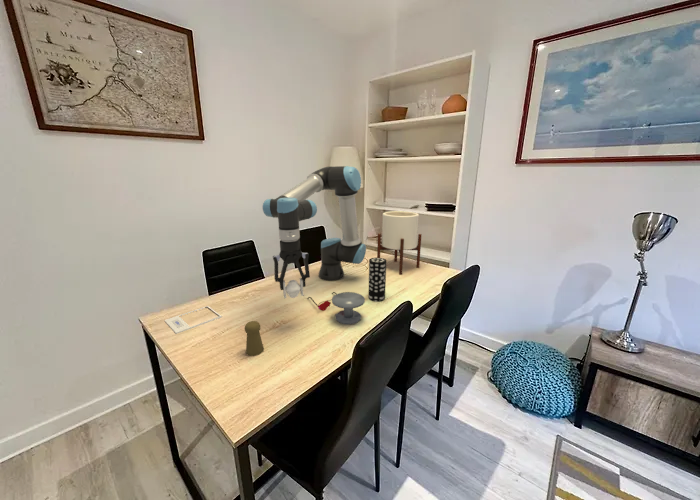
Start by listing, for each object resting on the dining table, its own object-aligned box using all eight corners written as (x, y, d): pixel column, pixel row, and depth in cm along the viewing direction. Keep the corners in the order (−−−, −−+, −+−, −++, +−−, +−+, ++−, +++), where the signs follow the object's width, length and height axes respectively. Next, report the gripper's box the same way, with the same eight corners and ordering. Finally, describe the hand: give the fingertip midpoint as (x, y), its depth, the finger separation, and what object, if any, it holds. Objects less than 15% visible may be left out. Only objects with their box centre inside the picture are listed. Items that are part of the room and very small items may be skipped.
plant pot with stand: (374, 267, 188) (375, 213, 179) (395, 260, 203) (397, 210, 193) (401, 276, 172) (404, 217, 163) (422, 267, 187) (426, 213, 177)
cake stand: (328, 313, 128) (328, 294, 125) (357, 308, 132) (357, 290, 130) (337, 328, 115) (337, 308, 112) (369, 322, 119) (369, 303, 117)
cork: (248, 346, 103) (245, 319, 101) (265, 345, 104) (262, 318, 101) (243, 356, 98) (240, 328, 95) (261, 355, 98) (259, 327, 95)
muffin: (288, 292, 117) (287, 276, 115) (303, 293, 116) (302, 277, 114) (283, 299, 111) (282, 282, 109) (298, 300, 110) (297, 283, 108)
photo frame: (164, 319, 121) (208, 305, 133) (164, 322, 121) (208, 307, 134) (176, 332, 111) (221, 315, 124) (176, 334, 111) (222, 317, 124)
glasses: (318, 313, 128) (318, 303, 127) (306, 299, 142) (306, 290, 141) (346, 307, 134) (346, 297, 133) (332, 293, 148) (332, 285, 147)
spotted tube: (384, 302, 138) (385, 263, 132) (367, 300, 139) (368, 262, 134) (385, 295, 146) (387, 258, 140) (369, 293, 147) (370, 257, 142)
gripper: (264, 244, 101) (269, 303, 107) (316, 239, 107) (319, 295, 113) (263, 239, 107) (268, 295, 114) (312, 235, 113) (314, 288, 120)
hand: (293, 295), depth 114 cm, fingers closed on muffin, 6 cm apart
